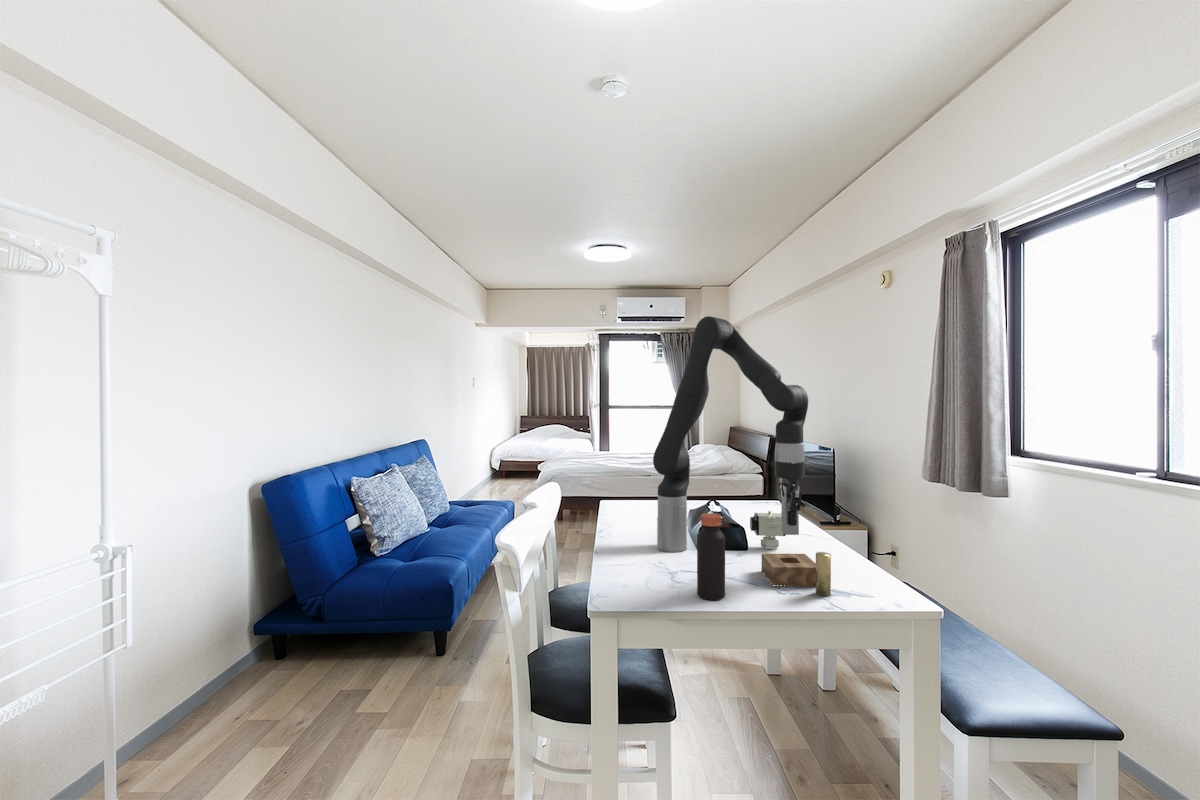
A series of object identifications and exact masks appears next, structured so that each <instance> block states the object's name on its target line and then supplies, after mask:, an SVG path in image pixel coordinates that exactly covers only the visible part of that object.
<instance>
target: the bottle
mask: <svg viewBox="0 0 1200 800" xmlns="http://www.w3.org/2000/svg"><path fill="white" fill-rule="evenodd" d="M700 526H701V528H702V529H701V530H700V531H699V532H698V533H697V535H696V543H697V544H696V547H697V548H696V555H697V556H696V570H697V571H696V578H697V580H696V581H697V582H696V584H697V585H696V586H697V587H696V592H697V593H696V594H697V597H699V598H701V599H703V600H706V601H719V600H722V599H724V598H725V596H726V536H725V534H724V533H723V532H722V531H721V526H722V515H720V514H718V513H714V512H713V513H712V512H711V513H709V512H707V513H701V515H700Z"/></svg>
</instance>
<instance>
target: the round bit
mask: <svg viewBox="0 0 1200 800" xmlns="http://www.w3.org/2000/svg"><path fill="white" fill-rule="evenodd" d="M815 563H816V587H815V595H817V596H819V597H823V598H824V597H826V598H827V597H831V594H832V590H831V588H832V586H831V585H832V578H831V577H832V576H831V575H832V574H831V573H832V564H831V563H832V554H831V553H830V552H827V551H826V552H825V551H817V552H815Z"/></svg>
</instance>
